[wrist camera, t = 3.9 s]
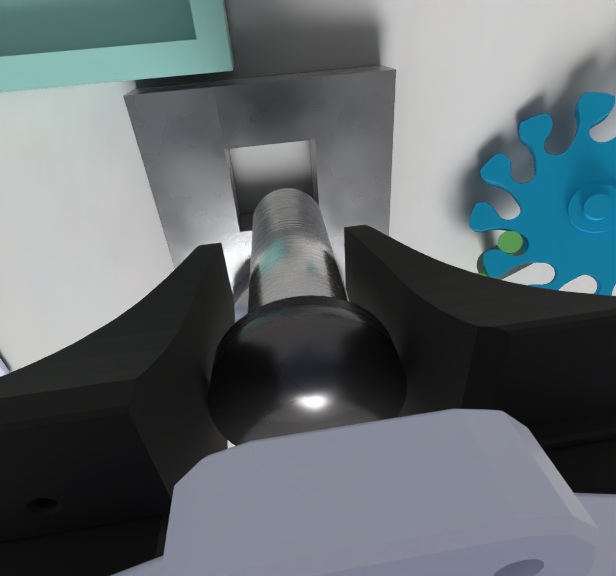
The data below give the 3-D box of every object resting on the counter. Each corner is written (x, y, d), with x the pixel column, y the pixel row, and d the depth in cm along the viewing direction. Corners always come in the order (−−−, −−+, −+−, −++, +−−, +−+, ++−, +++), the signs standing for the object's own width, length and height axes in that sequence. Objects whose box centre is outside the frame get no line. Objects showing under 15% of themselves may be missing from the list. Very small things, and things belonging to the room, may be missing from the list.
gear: (657, 27, 16) (841, 243, 14) (615, 93, 21) (743, 256, 19) (408, 192, 20) (521, 377, 18) (427, 212, 25) (515, 356, 23)
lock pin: (244, 271, 15) (227, 471, 8) (226, 175, 13) (185, 338, 6) (340, 261, 15) (401, 449, 8) (337, 165, 13) (414, 312, 6)
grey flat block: (209, 349, 24) (203, 399, 21) (136, 88, 16) (108, 103, 13) (374, 326, 24) (393, 371, 21) (381, 65, 17) (412, 74, 13)
